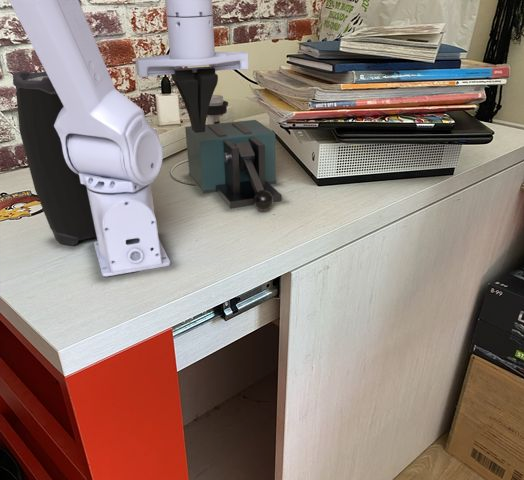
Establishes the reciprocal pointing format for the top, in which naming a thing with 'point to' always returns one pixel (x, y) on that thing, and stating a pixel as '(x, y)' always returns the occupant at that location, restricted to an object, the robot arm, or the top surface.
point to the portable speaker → (51, 160)
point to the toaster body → (212, 151)
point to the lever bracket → (233, 189)
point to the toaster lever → (253, 176)
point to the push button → (216, 109)
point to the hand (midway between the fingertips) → (198, 130)
